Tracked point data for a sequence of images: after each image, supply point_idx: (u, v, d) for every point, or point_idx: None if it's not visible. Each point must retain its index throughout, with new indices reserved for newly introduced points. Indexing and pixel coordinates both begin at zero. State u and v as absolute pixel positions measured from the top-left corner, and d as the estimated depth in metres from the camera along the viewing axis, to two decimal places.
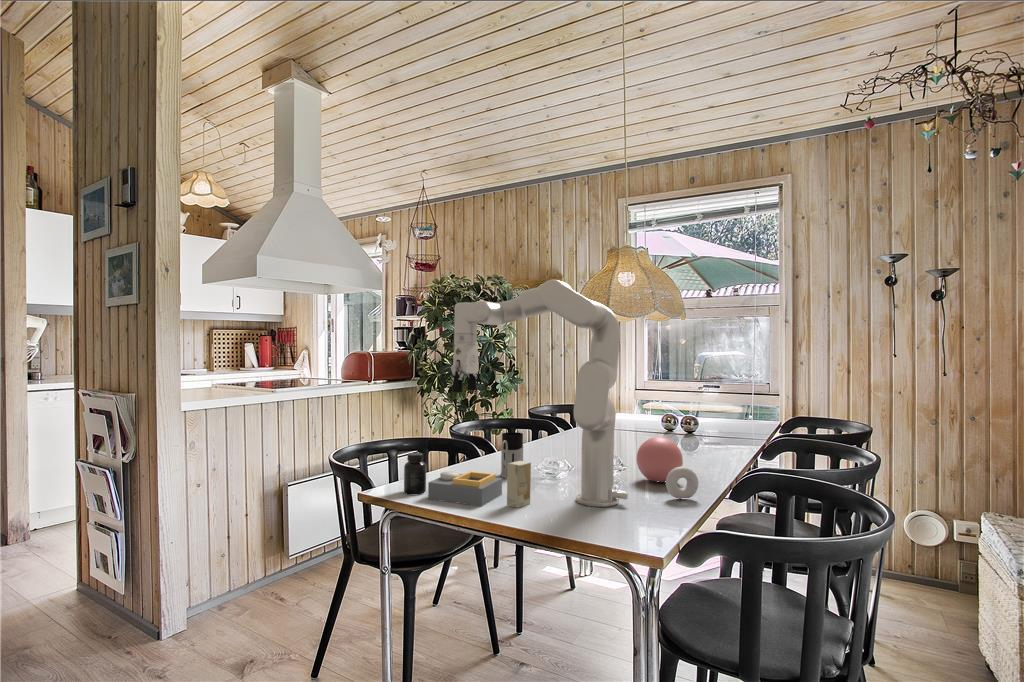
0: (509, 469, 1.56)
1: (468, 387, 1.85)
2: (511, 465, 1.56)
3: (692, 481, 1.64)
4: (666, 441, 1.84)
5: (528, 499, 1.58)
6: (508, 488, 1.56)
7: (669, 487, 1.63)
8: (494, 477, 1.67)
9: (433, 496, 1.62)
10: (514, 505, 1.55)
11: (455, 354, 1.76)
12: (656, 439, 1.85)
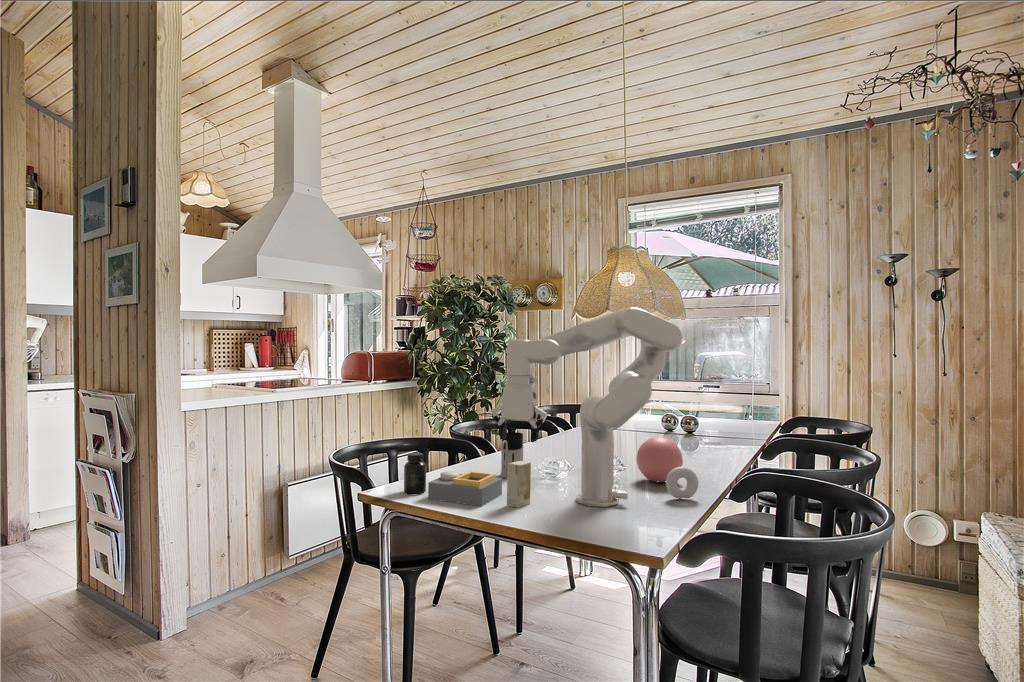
0: (509, 469, 1.56)
1: (502, 436, 1.59)
2: (511, 465, 1.56)
3: (692, 481, 1.64)
4: (666, 441, 1.84)
5: (528, 499, 1.58)
6: (508, 488, 1.56)
7: (669, 487, 1.63)
8: (494, 477, 1.67)
9: (433, 496, 1.62)
10: (514, 505, 1.55)
11: (532, 399, 1.55)
12: (656, 439, 1.85)
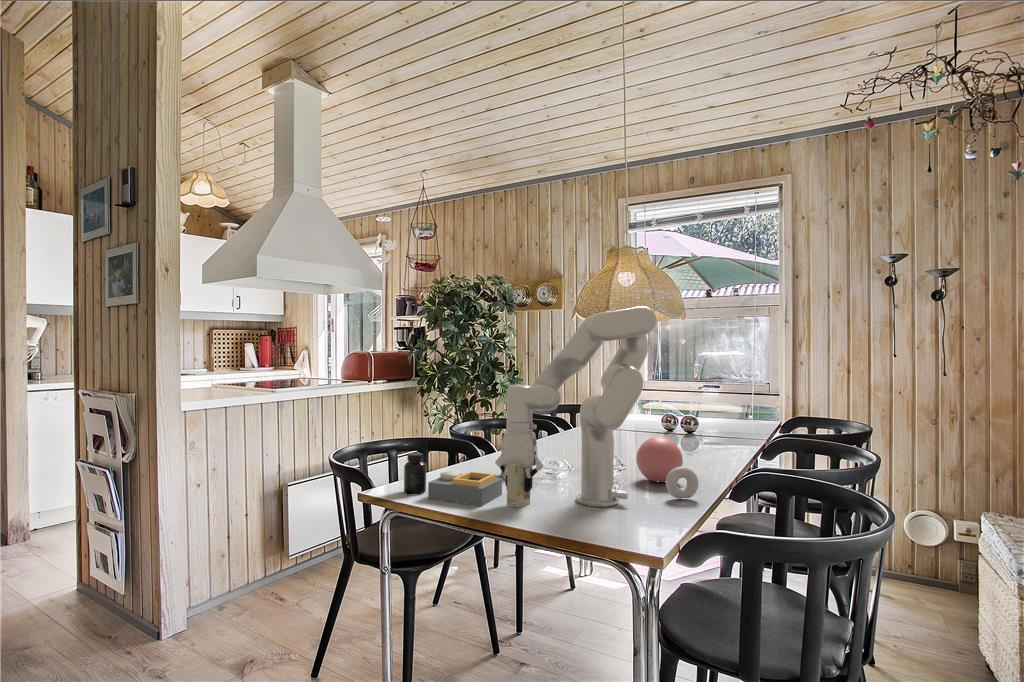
0: (509, 469, 1.56)
1: None
2: (511, 465, 1.56)
3: (692, 481, 1.64)
4: (666, 441, 1.84)
5: (528, 499, 1.58)
6: (508, 488, 1.56)
7: (669, 487, 1.63)
8: (494, 477, 1.67)
9: (433, 496, 1.62)
10: (514, 505, 1.55)
11: (533, 446, 1.55)
12: (656, 439, 1.85)
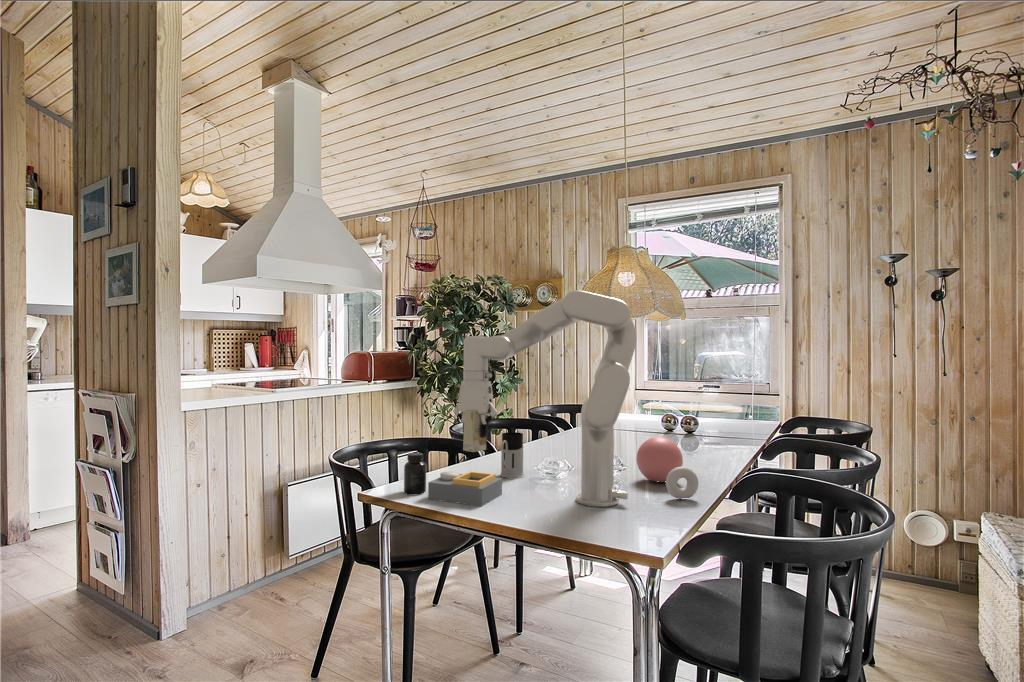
0: (465, 416, 1.63)
1: None
2: (467, 412, 1.63)
3: (692, 481, 1.64)
4: (666, 441, 1.84)
5: (484, 445, 1.65)
6: (464, 434, 1.63)
7: (669, 487, 1.63)
8: (494, 477, 1.67)
9: (433, 496, 1.62)
10: (470, 450, 1.62)
11: (488, 393, 1.62)
12: (656, 439, 1.85)
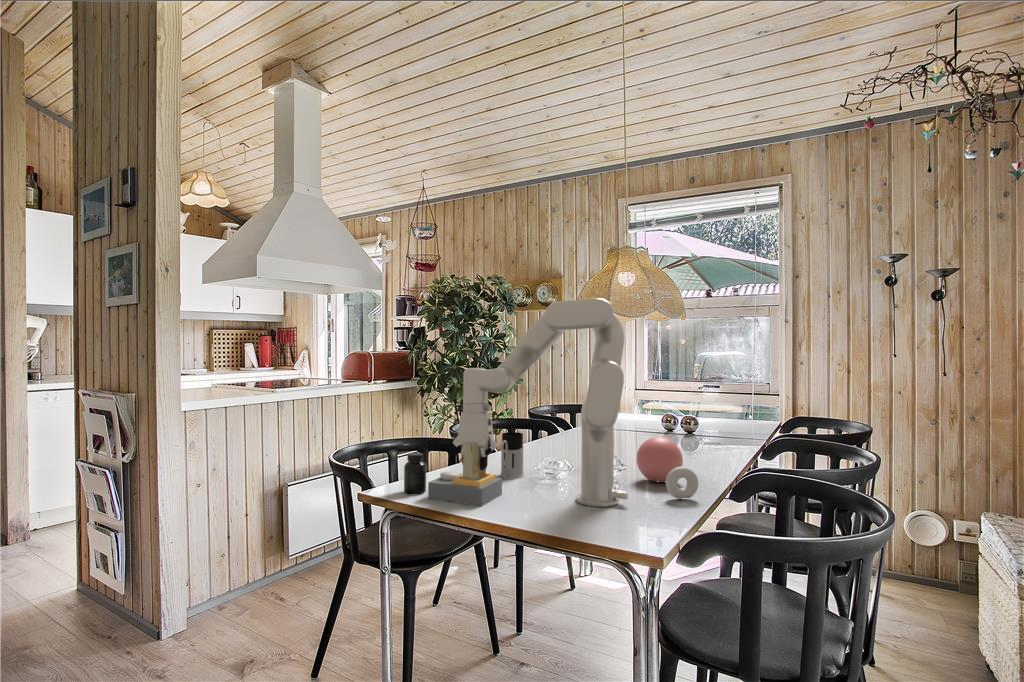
0: (465, 448, 1.63)
1: None
2: (467, 444, 1.63)
3: (692, 481, 1.64)
4: (666, 441, 1.84)
5: (483, 477, 1.65)
6: (464, 466, 1.63)
7: (669, 487, 1.63)
8: (494, 477, 1.67)
9: (433, 496, 1.62)
10: None
11: (487, 426, 1.62)
12: (656, 439, 1.85)
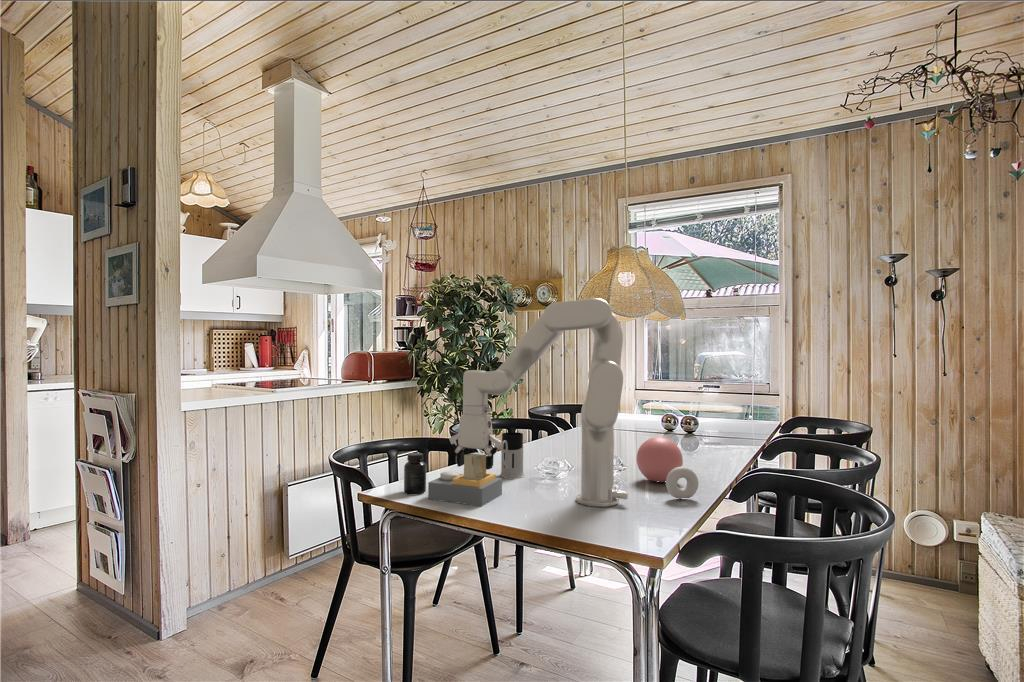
0: (466, 460, 1.63)
1: (460, 463, 1.66)
2: (468, 456, 1.63)
3: (692, 481, 1.64)
4: (666, 441, 1.84)
5: None
6: (465, 478, 1.63)
7: (669, 487, 1.63)
8: (494, 477, 1.67)
9: (433, 496, 1.62)
10: None
11: (487, 428, 1.62)
12: (656, 439, 1.85)
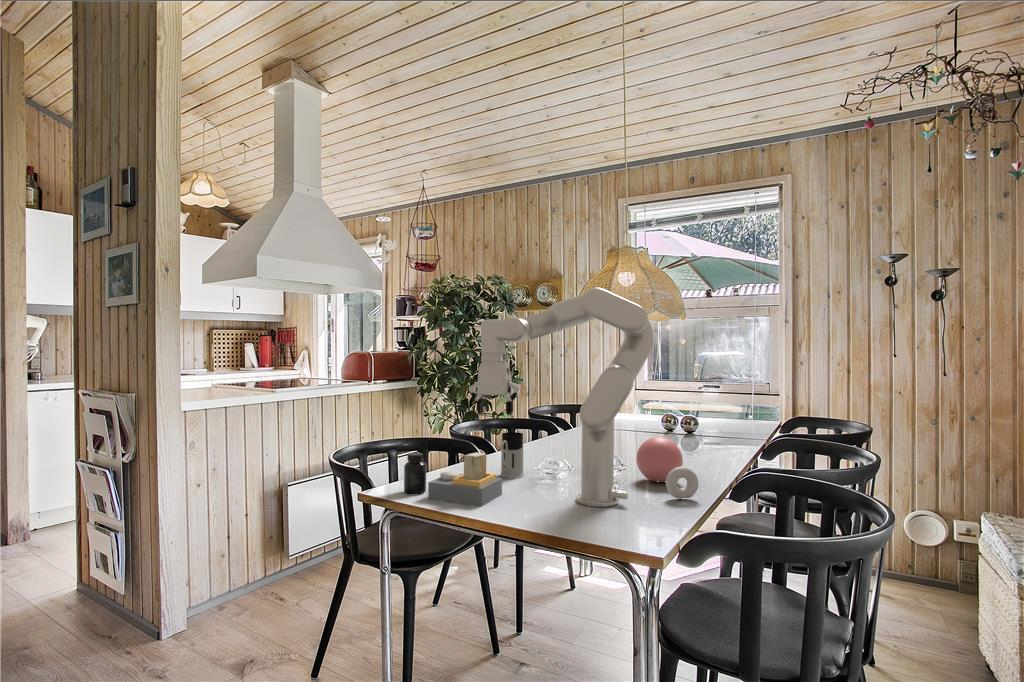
0: (465, 460, 1.63)
1: (480, 411, 1.70)
2: (467, 456, 1.63)
3: (692, 481, 1.64)
4: (666, 441, 1.84)
5: None
6: None
7: (669, 487, 1.63)
8: (494, 477, 1.67)
9: (433, 496, 1.62)
10: None
11: (506, 374, 1.66)
12: (656, 439, 1.85)
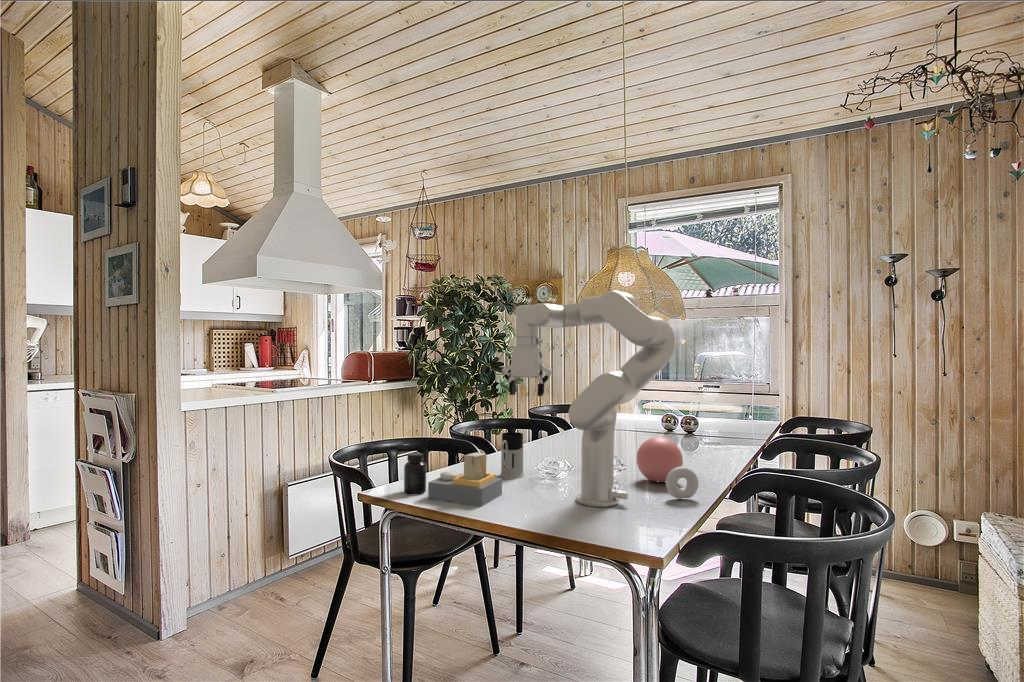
0: (466, 460, 1.63)
1: (512, 392, 1.78)
2: (467, 456, 1.63)
3: (692, 481, 1.64)
4: (666, 441, 1.84)
5: None
6: None
7: (669, 487, 1.63)
8: (494, 477, 1.67)
9: (433, 496, 1.62)
10: None
11: (539, 358, 1.74)
12: (656, 439, 1.85)
